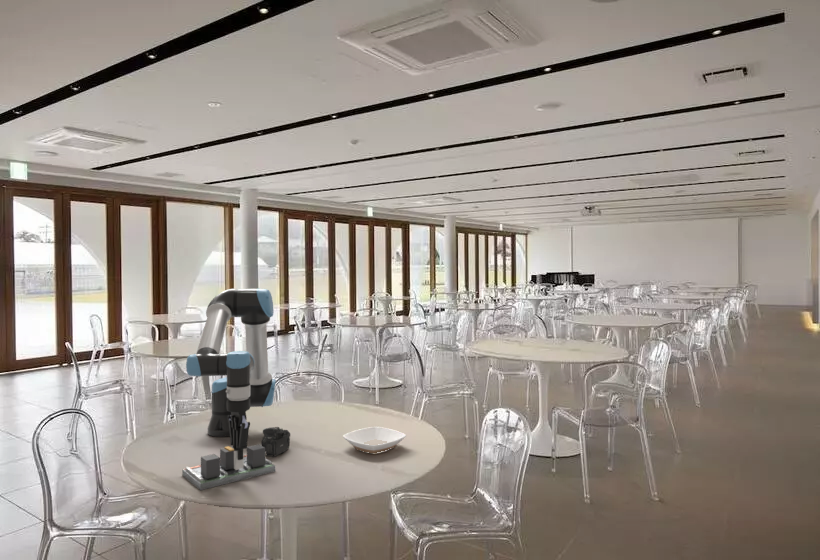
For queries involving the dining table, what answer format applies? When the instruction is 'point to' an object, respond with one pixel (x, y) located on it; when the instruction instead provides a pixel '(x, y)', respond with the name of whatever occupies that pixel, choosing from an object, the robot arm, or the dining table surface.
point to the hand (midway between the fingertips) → (238, 468)
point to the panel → (226, 474)
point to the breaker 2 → (227, 458)
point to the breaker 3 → (255, 455)
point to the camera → (275, 441)
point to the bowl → (372, 433)
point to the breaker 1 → (210, 466)
